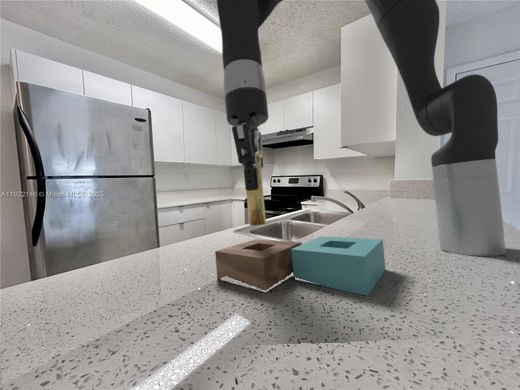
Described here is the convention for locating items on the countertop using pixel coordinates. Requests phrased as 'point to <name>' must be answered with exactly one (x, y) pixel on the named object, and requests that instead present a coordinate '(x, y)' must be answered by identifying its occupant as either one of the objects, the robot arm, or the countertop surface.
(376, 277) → the socket block
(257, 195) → the brass pin
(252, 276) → the block
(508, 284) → the countertop surface
